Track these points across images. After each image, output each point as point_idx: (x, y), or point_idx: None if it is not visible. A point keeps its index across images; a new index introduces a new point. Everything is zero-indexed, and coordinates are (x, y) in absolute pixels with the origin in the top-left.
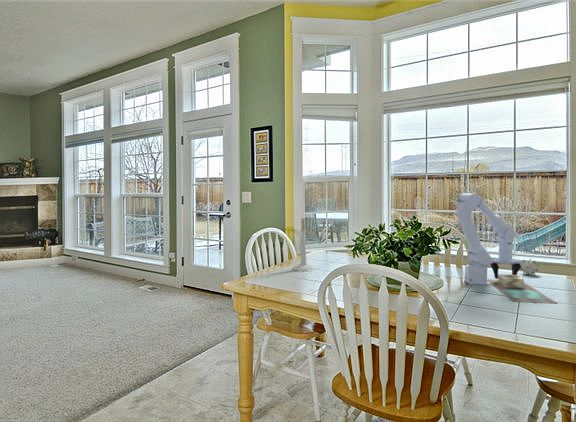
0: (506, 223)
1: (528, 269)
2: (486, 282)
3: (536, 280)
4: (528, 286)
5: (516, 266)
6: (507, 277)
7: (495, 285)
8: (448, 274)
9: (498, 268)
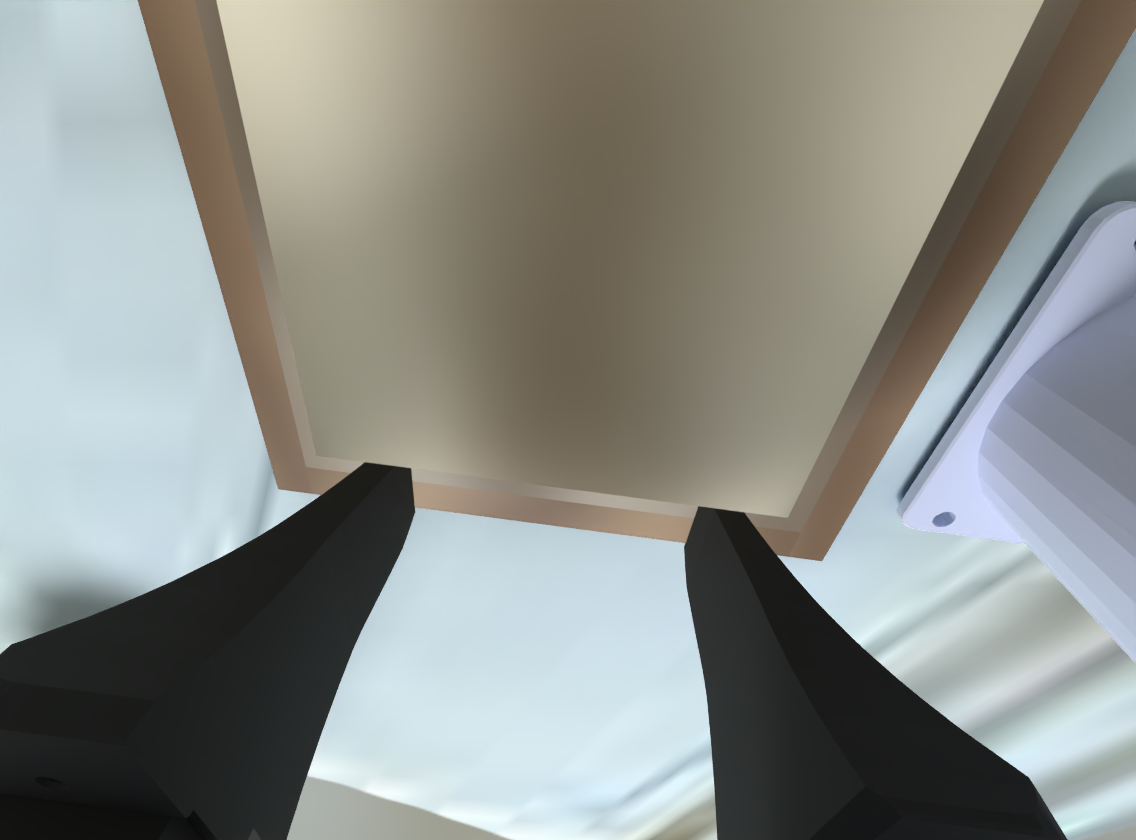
0: None
1: None
2: (1103, 318)
3: (59, 501)
4: (203, 50)
5: (127, 707)
6: (793, 91)
7: (1014, 129)
8: (1125, 756)
9: (814, 699)
